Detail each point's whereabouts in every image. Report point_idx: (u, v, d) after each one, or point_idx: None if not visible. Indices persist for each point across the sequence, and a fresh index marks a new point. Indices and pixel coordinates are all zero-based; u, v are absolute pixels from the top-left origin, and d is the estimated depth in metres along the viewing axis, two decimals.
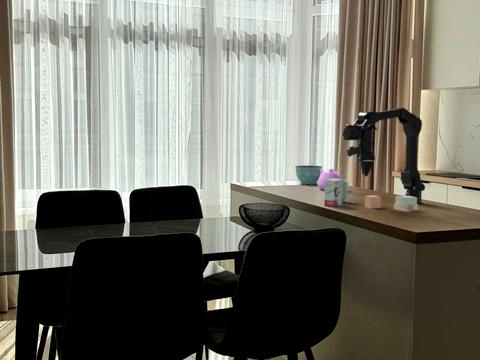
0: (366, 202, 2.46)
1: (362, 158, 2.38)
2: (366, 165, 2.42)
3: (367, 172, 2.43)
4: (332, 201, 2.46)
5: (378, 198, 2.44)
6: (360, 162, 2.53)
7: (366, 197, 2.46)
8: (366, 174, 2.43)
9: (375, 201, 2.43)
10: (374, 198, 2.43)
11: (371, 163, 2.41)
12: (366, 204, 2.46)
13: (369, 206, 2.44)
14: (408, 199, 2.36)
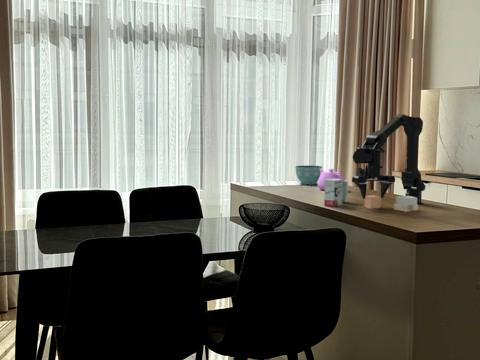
0: (366, 202, 2.46)
1: (352, 180, 2.44)
2: (361, 187, 2.43)
3: (363, 195, 2.43)
4: (332, 201, 2.46)
5: (378, 198, 2.44)
6: (381, 185, 2.48)
7: (366, 197, 2.46)
8: (363, 196, 2.44)
9: (375, 201, 2.43)
10: (374, 198, 2.43)
11: (362, 186, 2.41)
12: (366, 204, 2.46)
13: (369, 206, 2.44)
14: (408, 199, 2.36)
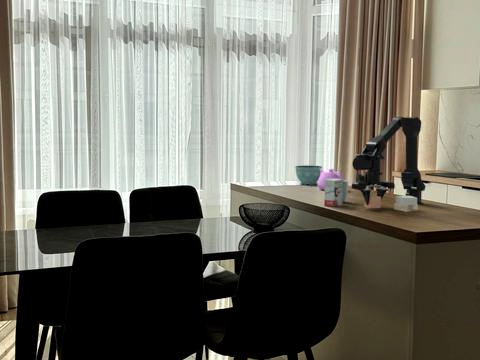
0: None
1: (352, 186, 2.44)
2: (365, 194, 2.44)
3: (366, 201, 2.44)
4: (332, 201, 2.46)
5: (378, 198, 2.44)
6: None
7: None
8: (366, 203, 2.45)
9: (375, 201, 2.43)
10: (374, 198, 2.43)
11: (366, 192, 2.42)
12: None
13: (369, 206, 2.44)
14: (408, 199, 2.36)
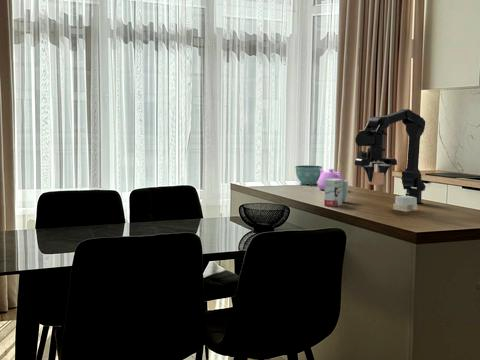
0: None
1: (355, 163, 2.42)
2: (368, 170, 2.43)
3: (369, 177, 2.43)
4: (332, 201, 2.46)
5: (381, 174, 2.42)
6: (379, 168, 2.47)
7: None
8: (369, 179, 2.43)
9: (378, 177, 2.42)
10: (377, 174, 2.42)
11: (369, 169, 2.40)
12: None
13: (372, 182, 2.42)
14: (408, 199, 2.36)
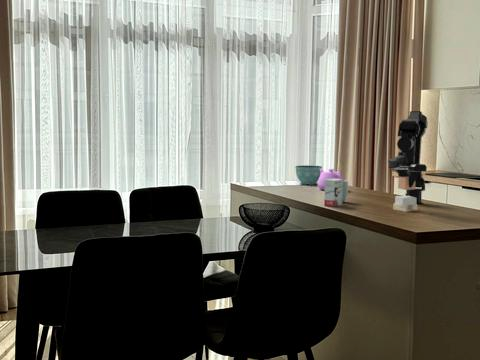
0: (408, 184, 2.36)
1: (416, 169, 2.29)
2: (412, 176, 2.35)
3: (412, 183, 2.36)
4: (332, 201, 2.46)
5: None
6: (399, 173, 2.41)
7: (408, 179, 2.36)
8: (411, 185, 2.36)
9: None
10: None
11: (417, 173, 2.35)
12: (408, 186, 2.36)
13: (413, 187, 2.37)
14: (407, 199, 2.36)
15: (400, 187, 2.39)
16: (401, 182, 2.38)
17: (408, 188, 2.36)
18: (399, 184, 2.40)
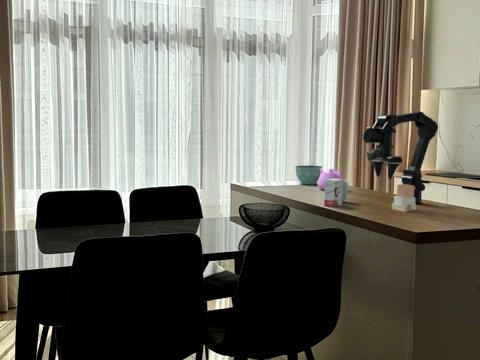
0: (407, 192, 2.37)
1: (392, 161, 2.41)
2: (391, 167, 2.45)
3: (391, 174, 2.46)
4: (332, 201, 2.46)
5: None
6: (375, 164, 2.55)
7: (406, 187, 2.37)
8: (390, 176, 2.46)
9: None
10: None
11: (396, 165, 2.45)
12: (407, 194, 2.37)
13: (411, 195, 2.38)
14: (406, 199, 2.36)
15: (399, 195, 2.40)
16: (400, 190, 2.39)
17: (407, 196, 2.37)
18: (398, 192, 2.40)
